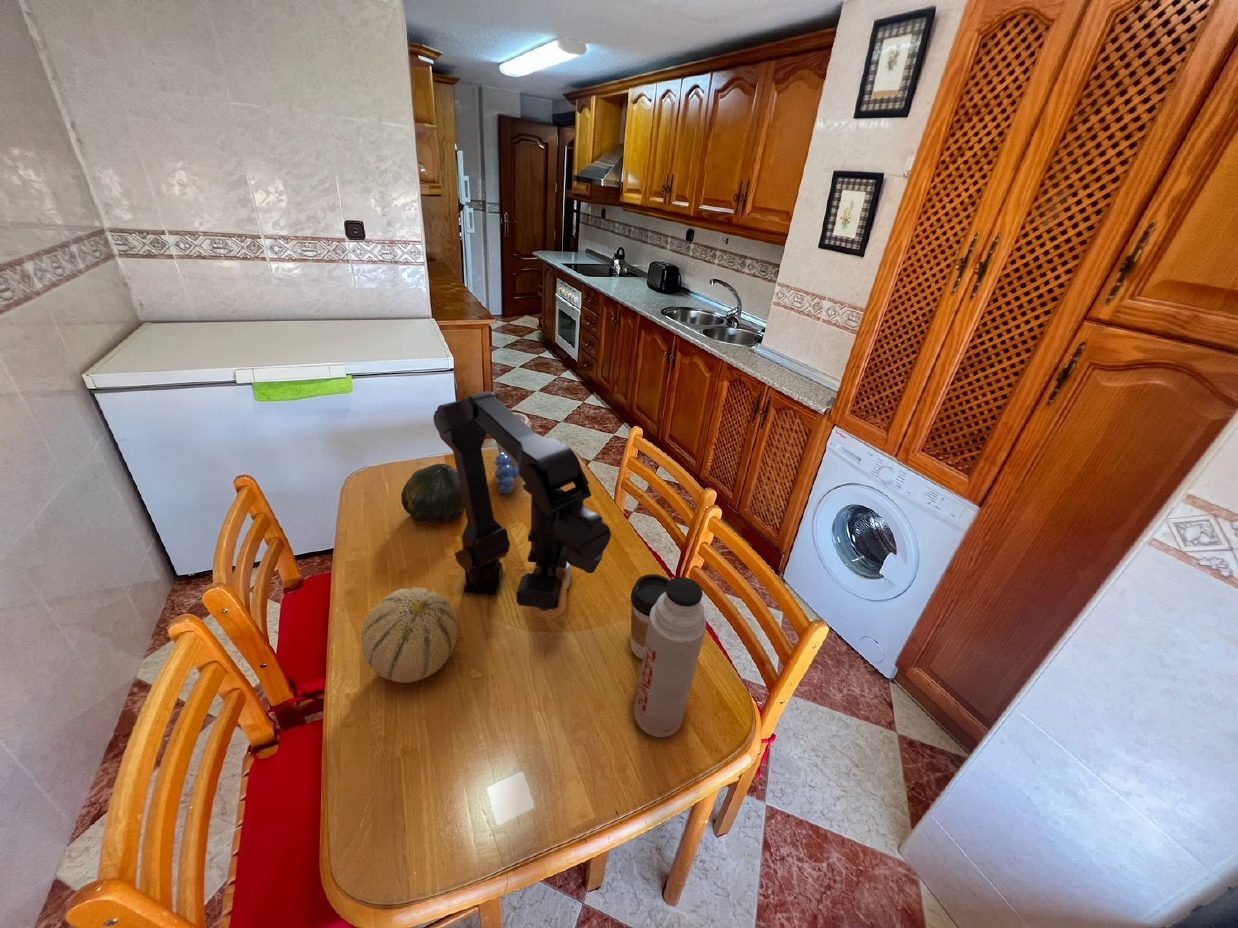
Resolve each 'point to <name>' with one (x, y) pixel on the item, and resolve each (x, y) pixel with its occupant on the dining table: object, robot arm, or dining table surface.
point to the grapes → (505, 473)
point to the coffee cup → (644, 608)
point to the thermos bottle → (670, 657)
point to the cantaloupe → (409, 634)
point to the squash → (433, 494)
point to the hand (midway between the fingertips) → (547, 595)
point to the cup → (554, 612)
